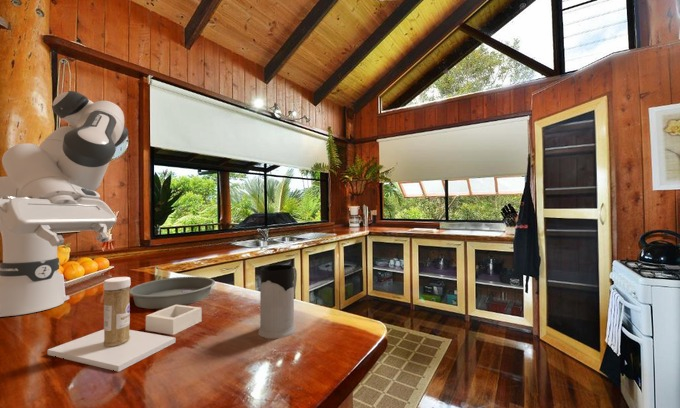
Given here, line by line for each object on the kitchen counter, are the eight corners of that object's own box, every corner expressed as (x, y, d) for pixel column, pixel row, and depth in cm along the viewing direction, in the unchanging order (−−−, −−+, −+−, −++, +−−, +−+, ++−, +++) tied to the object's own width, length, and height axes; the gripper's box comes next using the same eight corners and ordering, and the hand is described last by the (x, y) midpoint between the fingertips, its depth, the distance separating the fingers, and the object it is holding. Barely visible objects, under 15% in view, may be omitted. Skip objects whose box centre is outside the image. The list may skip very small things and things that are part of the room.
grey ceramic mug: (250, 335, 66) (250, 270, 67) (281, 314, 80) (281, 259, 80) (284, 340, 64) (284, 272, 64) (310, 317, 77) (310, 261, 77)
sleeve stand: (145, 330, 69) (145, 315, 69) (176, 317, 78) (176, 304, 78) (173, 334, 67) (173, 319, 67) (201, 321, 75) (201, 307, 75)
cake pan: (192, 311, 83) (192, 295, 83) (107, 311, 83) (107, 295, 83) (226, 288, 108) (226, 276, 108) (160, 288, 108) (160, 276, 108)
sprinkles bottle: (129, 343, 60) (130, 279, 61) (101, 349, 58) (102, 282, 58) (130, 335, 64) (130, 275, 64) (104, 341, 62) (104, 277, 62)
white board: (47, 354, 58) (47, 349, 58) (111, 330, 69) (111, 326, 69) (118, 371, 52) (118, 366, 52) (175, 342, 63) (175, 337, 63)
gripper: (-1, 184, 57) (33, 235, 55) (104, 192, 77) (132, 230, 75) (-18, 206, 58) (15, 258, 56) (90, 209, 78) (118, 246, 76)
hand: (83, 242), depth 65 cm, fingers open, 8 cm apart
